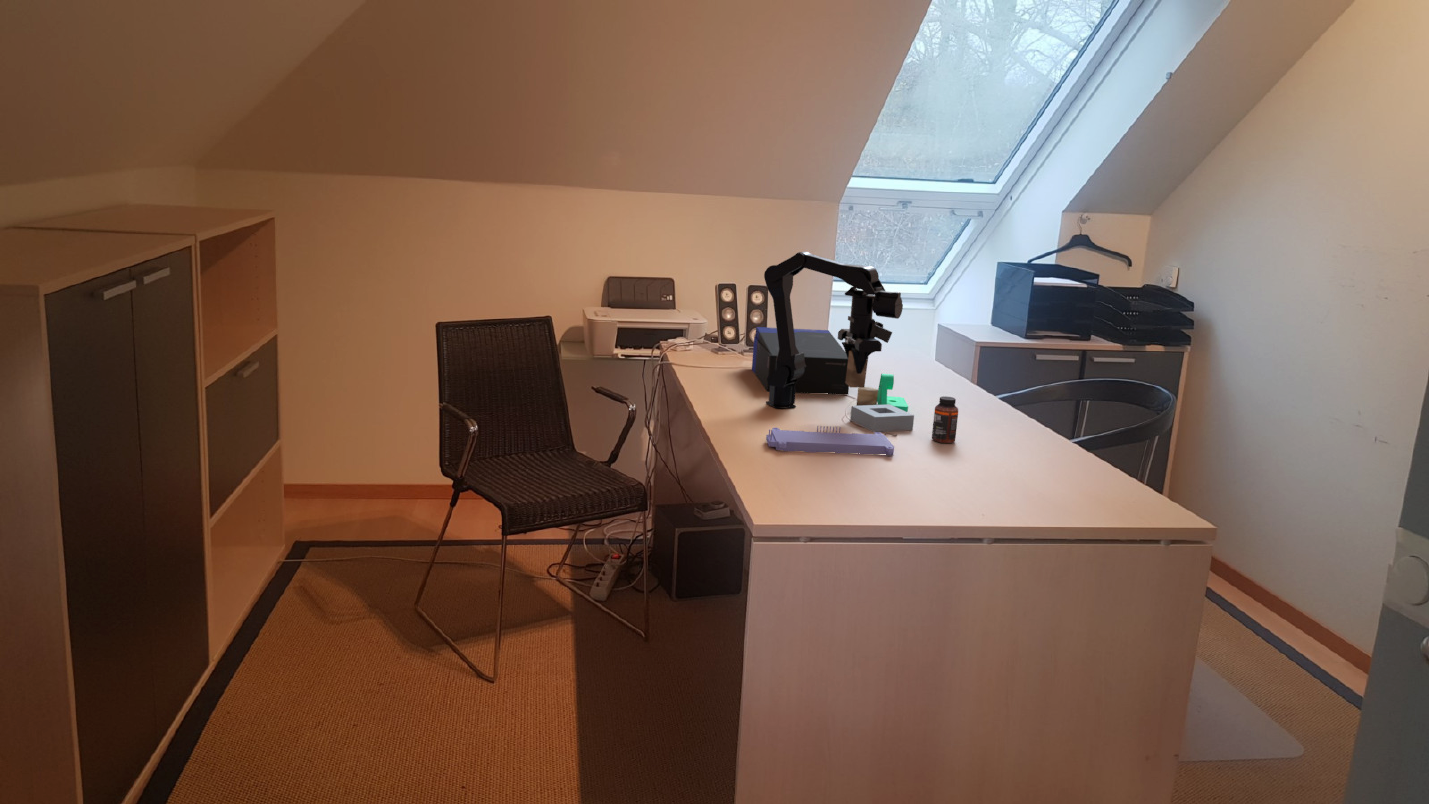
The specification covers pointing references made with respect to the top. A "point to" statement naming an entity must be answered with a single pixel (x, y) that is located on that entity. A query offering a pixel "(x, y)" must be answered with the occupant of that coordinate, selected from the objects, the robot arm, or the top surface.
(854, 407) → the socket block
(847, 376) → the square peg
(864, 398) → the round dowel
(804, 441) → the computer part
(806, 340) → the headphone box
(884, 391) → the green angle bracket
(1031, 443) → the top surface
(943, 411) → the supplement bottle
